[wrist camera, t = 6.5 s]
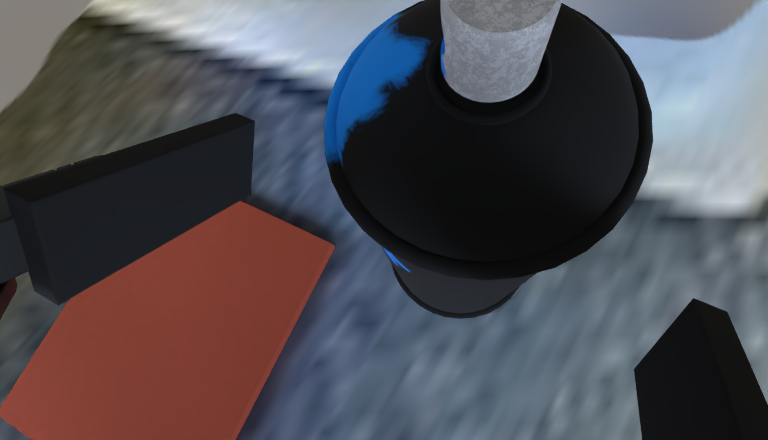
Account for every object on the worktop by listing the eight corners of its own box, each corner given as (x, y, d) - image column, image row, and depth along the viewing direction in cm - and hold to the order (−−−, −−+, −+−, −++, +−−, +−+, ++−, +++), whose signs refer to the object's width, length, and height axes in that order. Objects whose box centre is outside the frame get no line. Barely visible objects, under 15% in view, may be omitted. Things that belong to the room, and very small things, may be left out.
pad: (335, 246, 27) (332, 243, 26) (185, 537, 23) (174, 546, 22) (166, 167, 30) (157, 161, 29) (11, 411, 27) (-5, 413, 26)
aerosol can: (536, 197, 26) (790, -196, 7) (517, 333, 24) (800, 291, 5) (405, 176, 28) (325, -195, 9) (377, 302, 26) (190, 180, 7)
